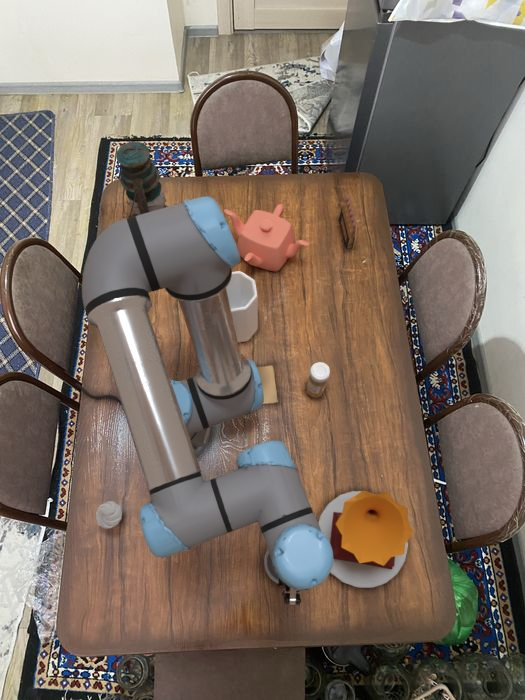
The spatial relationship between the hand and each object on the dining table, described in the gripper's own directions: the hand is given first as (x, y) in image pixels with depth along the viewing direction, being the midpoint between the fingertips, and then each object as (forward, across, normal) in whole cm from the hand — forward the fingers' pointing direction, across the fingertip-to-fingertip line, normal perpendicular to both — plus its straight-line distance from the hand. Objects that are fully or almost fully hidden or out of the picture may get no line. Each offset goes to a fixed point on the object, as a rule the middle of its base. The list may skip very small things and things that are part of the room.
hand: (288, 559), depth 99 cm
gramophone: (+18, +6, -17) cm, 26 cm away
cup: (+19, +58, +15) cm, 62 cm away
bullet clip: (+19, +89, -14) cm, 92 cm away
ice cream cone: (+19, +7, +38) cm, 43 cm away
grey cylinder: (+18, 0, 0) cm, 18 cm away
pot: (+19, +81, +9) cm, 83 cm away
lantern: (+19, +88, +42) cm, 99 cm away
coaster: (+19, +41, +9) cm, 46 cm away
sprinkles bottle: (+19, +41, -6) cm, 45 cm away
